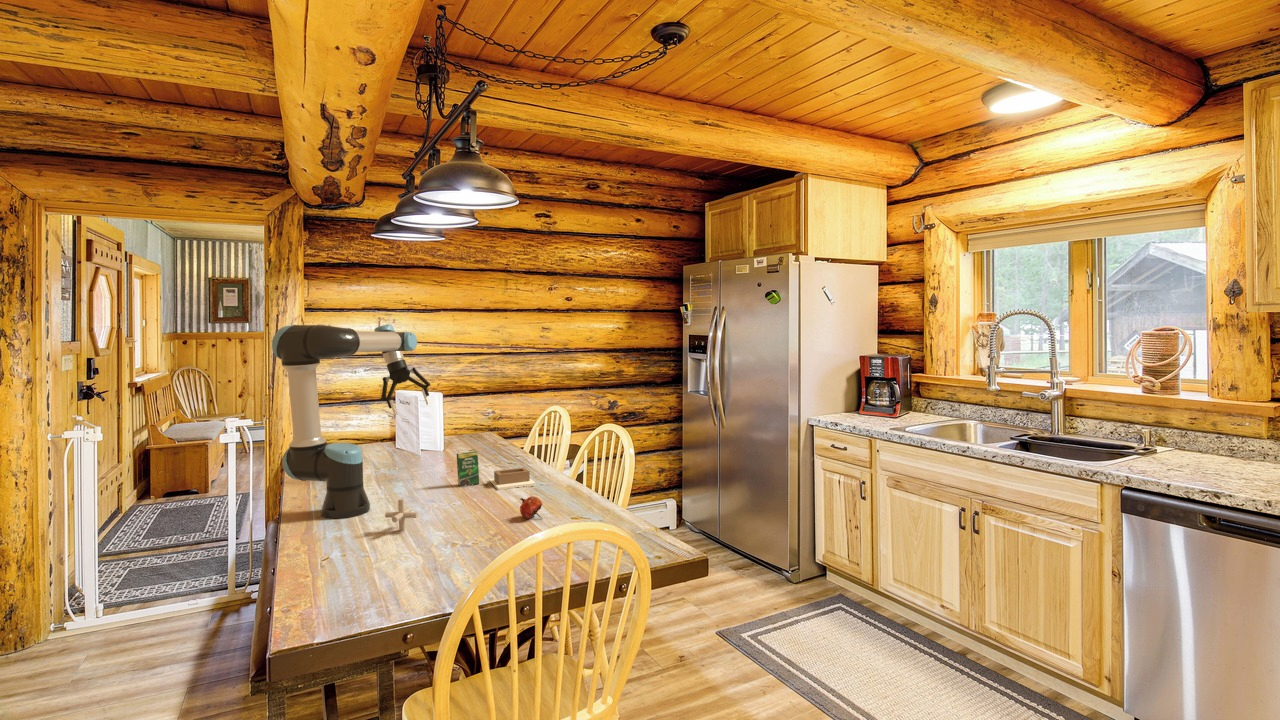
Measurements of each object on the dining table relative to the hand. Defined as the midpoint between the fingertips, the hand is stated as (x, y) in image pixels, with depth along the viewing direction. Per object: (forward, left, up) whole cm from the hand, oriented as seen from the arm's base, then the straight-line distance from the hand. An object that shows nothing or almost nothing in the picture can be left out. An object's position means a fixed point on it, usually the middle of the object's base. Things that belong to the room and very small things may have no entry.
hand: (412, 409), depth 270 cm
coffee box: (-24, -17, -29) cm, 41 cm away
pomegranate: (-77, -27, -29) cm, 87 cm away
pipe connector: (-70, +13, -29) cm, 77 cm away
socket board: (-30, -33, -28) cm, 53 cm away
